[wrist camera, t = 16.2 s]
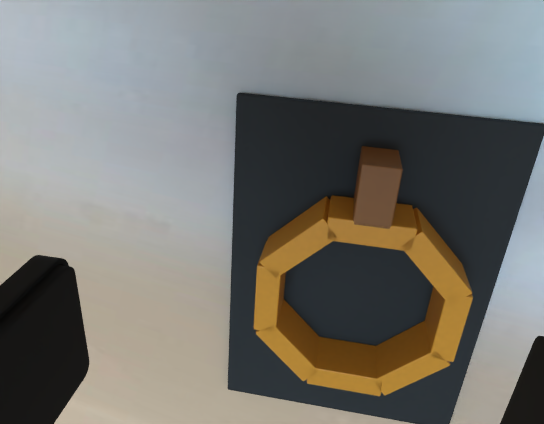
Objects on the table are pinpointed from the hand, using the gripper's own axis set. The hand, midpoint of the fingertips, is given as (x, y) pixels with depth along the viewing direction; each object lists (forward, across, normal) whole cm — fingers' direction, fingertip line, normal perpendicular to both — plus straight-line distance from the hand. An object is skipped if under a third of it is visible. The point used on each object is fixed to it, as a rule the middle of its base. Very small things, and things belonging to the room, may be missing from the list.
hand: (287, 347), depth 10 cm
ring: (+18, -3, +9) cm, 20 cm away
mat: (+18, -3, +10) cm, 21 cm away
